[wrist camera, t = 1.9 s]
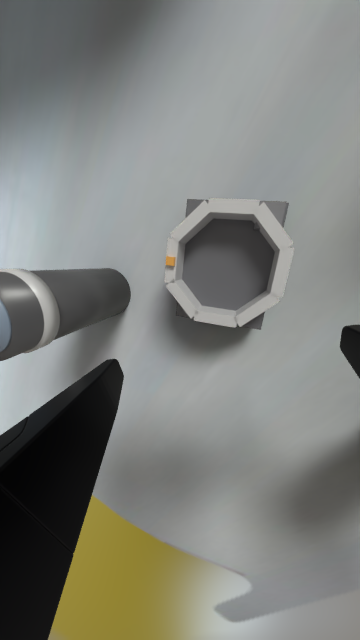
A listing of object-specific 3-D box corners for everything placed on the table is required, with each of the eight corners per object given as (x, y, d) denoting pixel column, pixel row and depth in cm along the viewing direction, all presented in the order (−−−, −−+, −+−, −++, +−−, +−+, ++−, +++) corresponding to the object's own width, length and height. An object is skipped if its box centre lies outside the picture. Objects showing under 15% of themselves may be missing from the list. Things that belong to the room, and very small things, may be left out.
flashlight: (131, 319, 23) (24, 373, 11) (89, 311, 24) (-45, 354, 13) (132, 269, 21) (11, 276, 10) (88, 264, 22) (-65, 264, 11)
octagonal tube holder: (264, 321, 19) (273, 341, 14) (178, 307, 21) (160, 320, 16) (288, 213, 16) (309, 191, 12) (188, 208, 18) (170, 188, 13)
